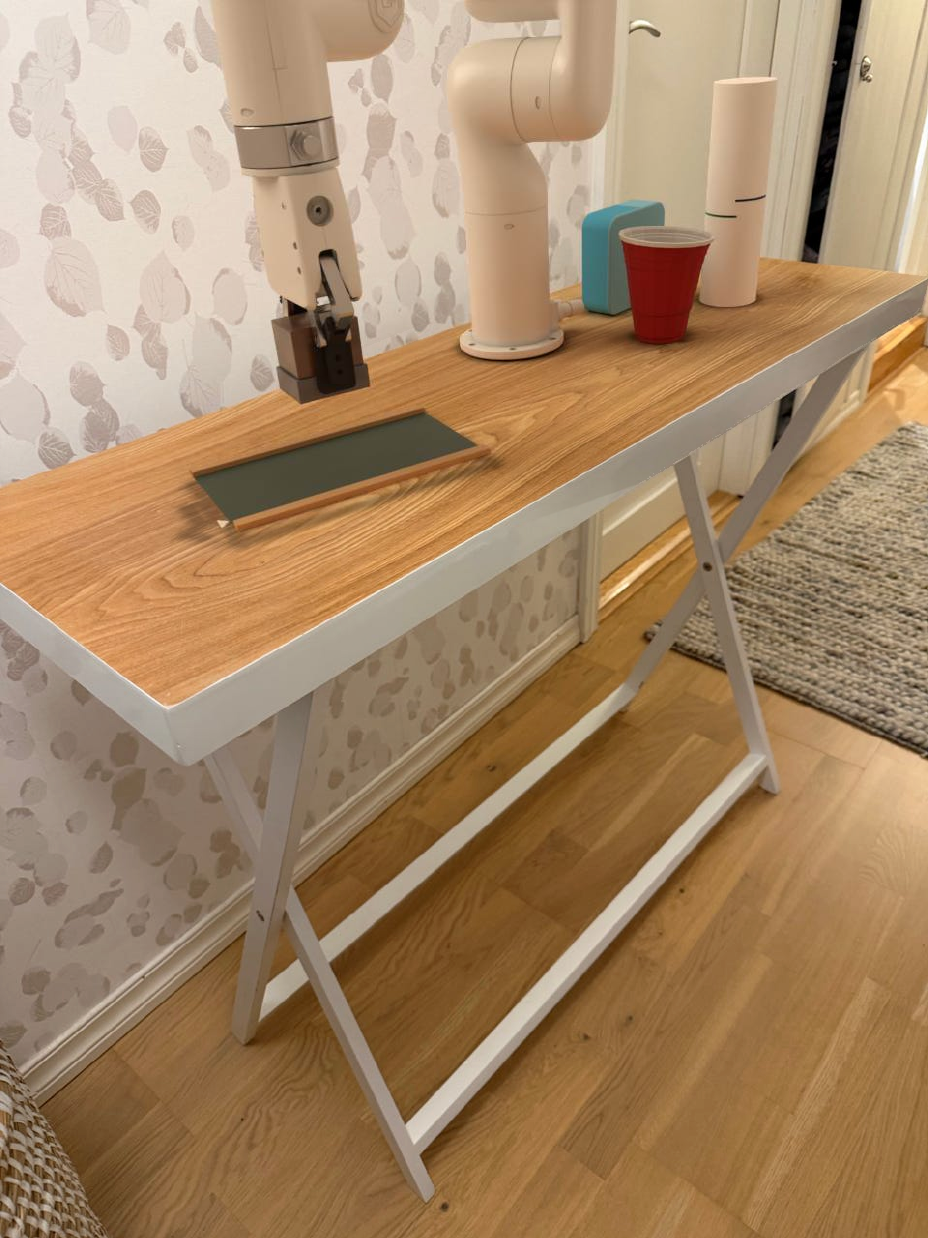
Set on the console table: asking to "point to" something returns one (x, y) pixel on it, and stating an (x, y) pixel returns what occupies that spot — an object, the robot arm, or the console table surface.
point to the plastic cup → (663, 278)
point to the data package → (611, 253)
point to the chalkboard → (331, 465)
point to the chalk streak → (223, 523)
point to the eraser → (309, 357)
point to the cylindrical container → (737, 188)
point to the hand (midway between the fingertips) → (324, 378)
